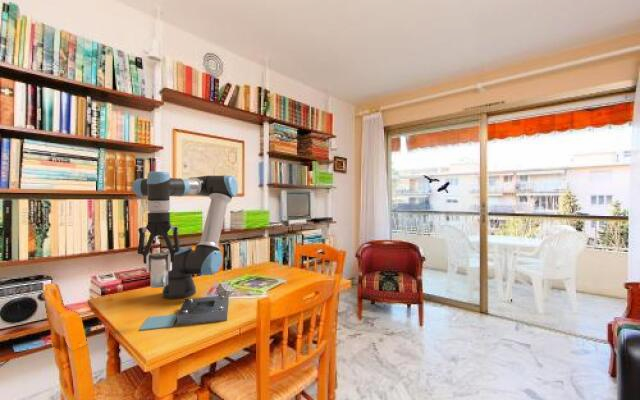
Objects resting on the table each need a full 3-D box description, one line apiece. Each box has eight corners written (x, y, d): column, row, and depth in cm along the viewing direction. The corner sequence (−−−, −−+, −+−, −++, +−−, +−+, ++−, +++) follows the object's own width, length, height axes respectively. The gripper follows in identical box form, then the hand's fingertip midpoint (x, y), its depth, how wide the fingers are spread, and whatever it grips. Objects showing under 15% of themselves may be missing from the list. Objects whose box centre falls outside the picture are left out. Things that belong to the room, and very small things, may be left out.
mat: (148, 318, 117) (148, 317, 117) (178, 315, 120) (178, 314, 120) (139, 330, 106) (139, 329, 106) (172, 327, 109) (172, 325, 109)
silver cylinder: (152, 283, 115) (151, 253, 115) (171, 281, 117) (170, 252, 117) (147, 288, 108) (146, 256, 108) (167, 287, 110) (166, 255, 110)
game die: (222, 307, 138) (210, 294, 133) (220, 295, 145) (209, 282, 140) (239, 297, 139) (228, 283, 134) (237, 286, 146) (226, 272, 141)
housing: (185, 308, 128) (185, 297, 127) (228, 303, 132) (228, 293, 132) (177, 325, 110) (177, 313, 110) (227, 320, 115) (226, 308, 115)
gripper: (126, 212, 106) (126, 275, 106) (184, 211, 111) (185, 271, 112) (133, 211, 113) (133, 270, 114) (188, 210, 118) (188, 267, 119)
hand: (159, 270), depth 113 cm, fingers closed on silver cylinder, 7 cm apart
